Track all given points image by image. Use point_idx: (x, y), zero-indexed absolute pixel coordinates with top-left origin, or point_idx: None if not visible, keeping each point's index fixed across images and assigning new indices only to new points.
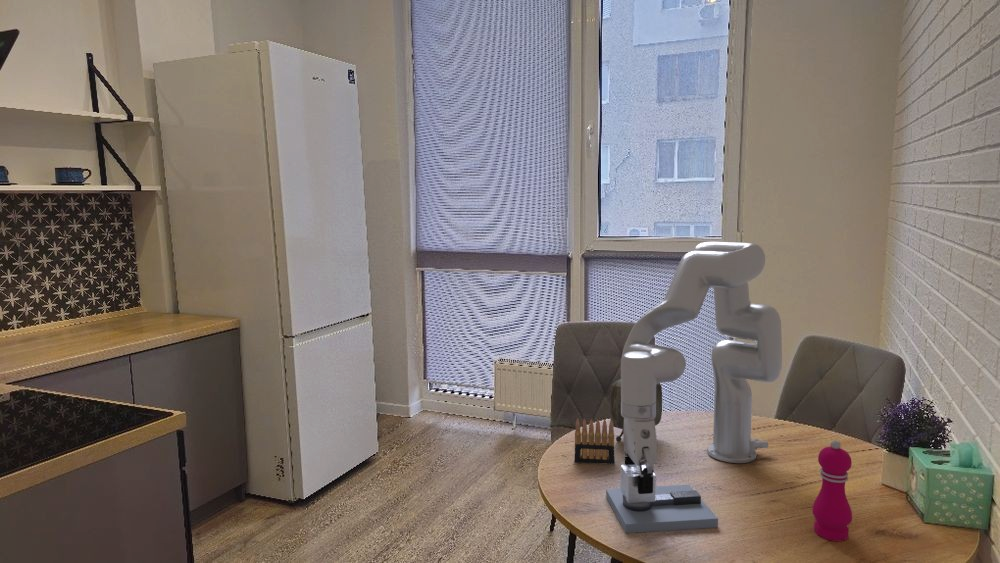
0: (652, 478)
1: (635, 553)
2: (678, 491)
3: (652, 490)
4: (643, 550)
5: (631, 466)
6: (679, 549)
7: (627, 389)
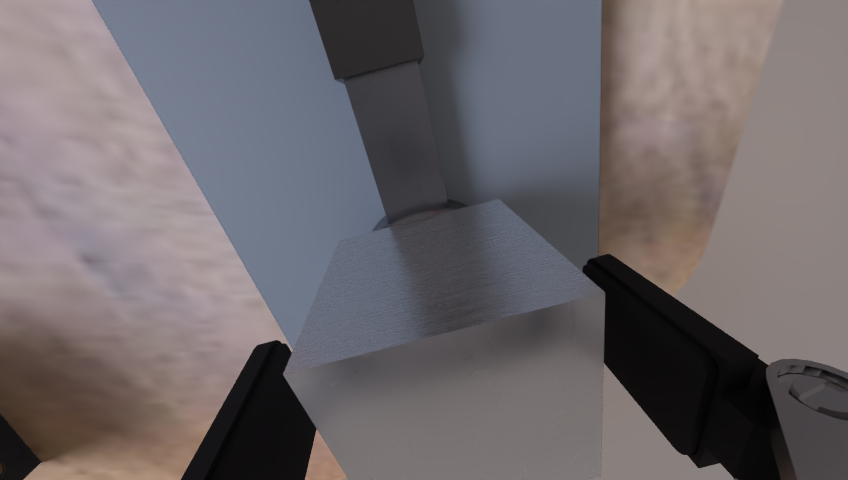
0: (716, 333)
1: (698, 256)
2: (311, 2)
3: (620, 263)
4: (689, 231)
5: (392, 476)
6: (720, 92)
7: None
